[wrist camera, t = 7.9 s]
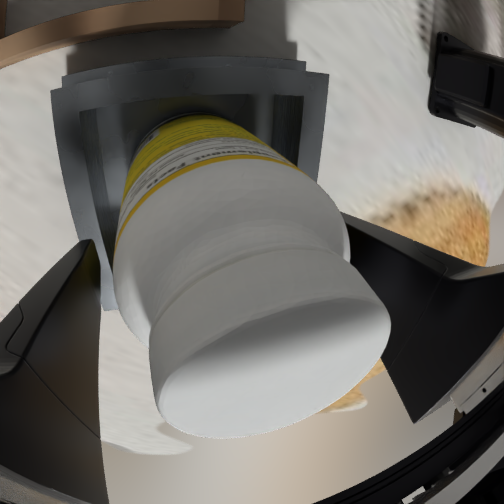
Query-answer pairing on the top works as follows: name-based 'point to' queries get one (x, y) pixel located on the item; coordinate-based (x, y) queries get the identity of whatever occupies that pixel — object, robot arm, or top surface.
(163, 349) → the pill bottle
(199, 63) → the dark metal seat block
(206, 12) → the walnut collar
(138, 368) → the top surface
